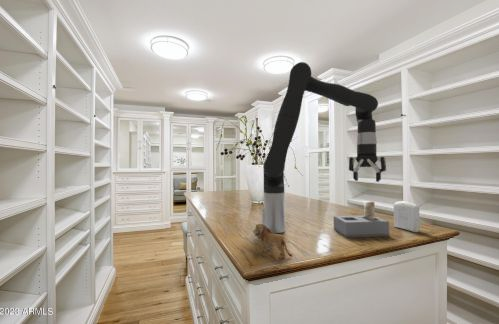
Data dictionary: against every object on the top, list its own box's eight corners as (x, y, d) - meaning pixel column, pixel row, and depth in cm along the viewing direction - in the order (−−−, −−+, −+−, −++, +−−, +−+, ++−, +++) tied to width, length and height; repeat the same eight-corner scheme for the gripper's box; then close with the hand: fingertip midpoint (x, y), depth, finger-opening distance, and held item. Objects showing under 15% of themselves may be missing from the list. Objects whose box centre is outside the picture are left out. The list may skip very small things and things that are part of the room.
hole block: (346, 237, 95) (345, 222, 95) (333, 229, 107) (333, 216, 107) (389, 236, 96) (389, 221, 96) (372, 228, 108) (372, 215, 108)
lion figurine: (251, 250, 81) (250, 224, 82) (260, 246, 86) (259, 221, 86) (288, 260, 72) (288, 231, 72) (296, 255, 77) (296, 227, 77)
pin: (364, 230, 101) (363, 202, 101) (365, 228, 104) (364, 201, 104) (374, 231, 99) (373, 203, 99) (375, 229, 102) (374, 201, 102)
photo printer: (421, 231, 102) (421, 202, 102) (415, 232, 100) (414, 203, 100) (398, 225, 111) (397, 199, 111) (392, 226, 110) (391, 200, 110)
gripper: (346, 144, 103) (346, 180, 103) (382, 141, 94) (383, 182, 94) (352, 145, 109) (352, 180, 109) (387, 143, 100) (387, 181, 99)
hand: (366, 181), depth 101 cm, fingers open, 8 cm apart
